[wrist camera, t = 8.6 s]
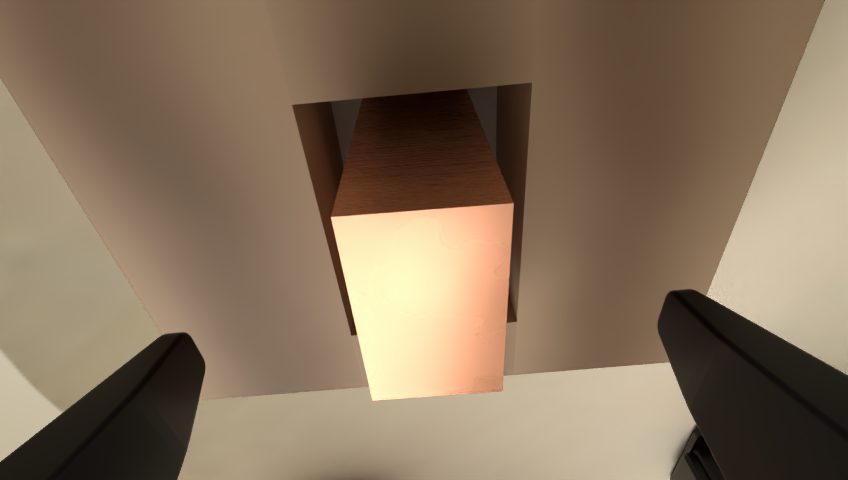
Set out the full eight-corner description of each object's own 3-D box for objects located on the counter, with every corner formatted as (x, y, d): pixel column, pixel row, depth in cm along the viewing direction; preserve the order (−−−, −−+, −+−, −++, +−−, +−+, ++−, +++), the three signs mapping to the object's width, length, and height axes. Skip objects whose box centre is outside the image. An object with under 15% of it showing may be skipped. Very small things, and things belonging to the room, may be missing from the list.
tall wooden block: (464, 84, 13) (514, 203, 7) (466, 224, 16) (502, 390, 10) (364, 92, 13) (330, 217, 7) (384, 231, 16) (372, 400, 10)
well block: (699, -85, 11) (864, -97, 7) (618, 266, 18) (679, 361, 14) (106, -27, 12) (-54, -9, 8) (246, 298, 19) (202, 400, 14)
